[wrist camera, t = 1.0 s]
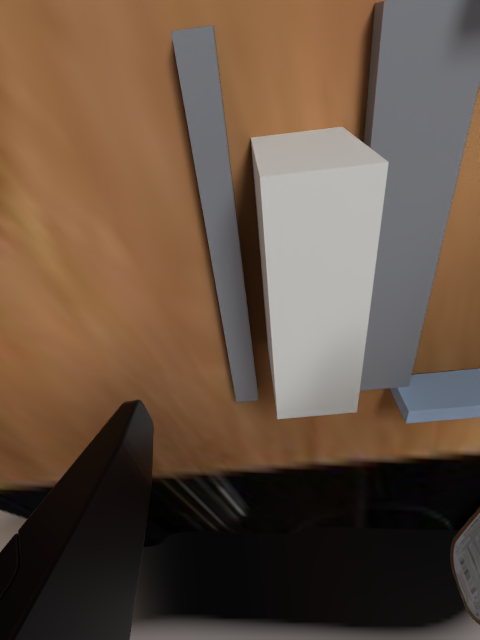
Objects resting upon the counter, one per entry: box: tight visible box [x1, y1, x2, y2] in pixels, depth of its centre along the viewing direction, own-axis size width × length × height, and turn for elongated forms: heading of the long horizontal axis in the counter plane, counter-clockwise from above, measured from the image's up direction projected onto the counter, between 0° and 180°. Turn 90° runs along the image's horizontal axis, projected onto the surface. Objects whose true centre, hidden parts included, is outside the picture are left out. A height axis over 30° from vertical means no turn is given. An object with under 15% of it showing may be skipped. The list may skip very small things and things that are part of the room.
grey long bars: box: [171, 0, 480, 402], centre depth 19 cm, size 19×20×1 cm
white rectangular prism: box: [251, 127, 389, 419], centre depth 18 cm, size 4×12×6 cm, turn 6°
